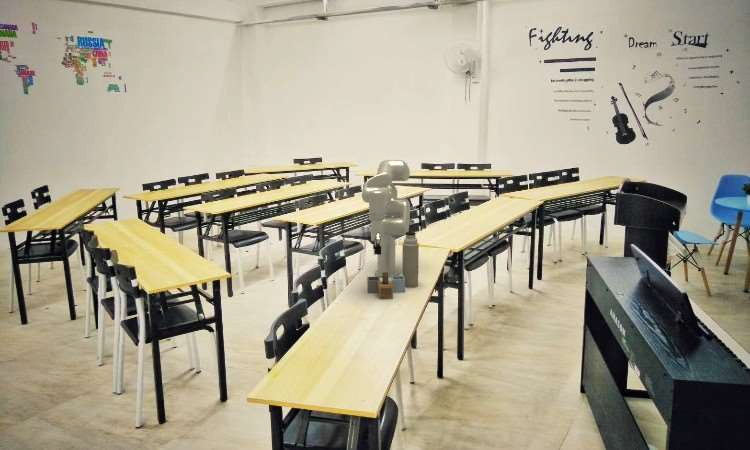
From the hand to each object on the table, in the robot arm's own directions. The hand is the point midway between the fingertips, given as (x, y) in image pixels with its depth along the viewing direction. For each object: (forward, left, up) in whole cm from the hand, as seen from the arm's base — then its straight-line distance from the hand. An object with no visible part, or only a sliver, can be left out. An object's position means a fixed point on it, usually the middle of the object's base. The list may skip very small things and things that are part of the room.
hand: (377, 251), depth 257 cm
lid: (+5, +4, -15) cm, 17 cm away
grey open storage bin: (-3, -1, -21) cm, 22 cm away
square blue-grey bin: (-3, +11, -21) cm, 24 cm away
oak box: (+5, +4, -21) cm, 22 cm away
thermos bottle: (-10, +18, -22) cm, 29 cm away
